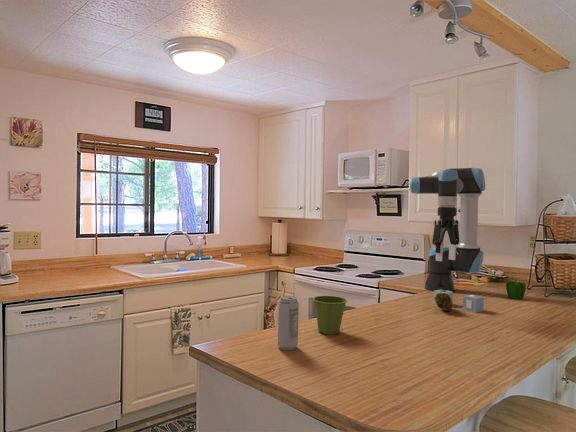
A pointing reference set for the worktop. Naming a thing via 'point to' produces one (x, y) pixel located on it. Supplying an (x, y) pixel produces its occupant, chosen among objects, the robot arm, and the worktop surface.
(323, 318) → the plant pot
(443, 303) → the potato
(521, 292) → the bell pepper
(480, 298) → the slate blue block
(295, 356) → the worktop surface
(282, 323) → the energy drink can
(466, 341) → the worktop surface
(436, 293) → the sage block
